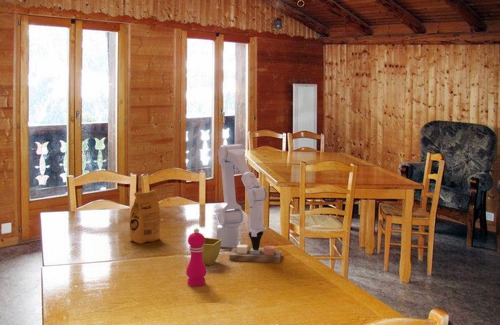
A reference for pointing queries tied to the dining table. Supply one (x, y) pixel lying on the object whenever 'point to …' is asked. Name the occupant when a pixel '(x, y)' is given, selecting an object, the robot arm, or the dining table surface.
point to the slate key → (255, 251)
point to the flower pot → (211, 250)
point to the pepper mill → (196, 260)
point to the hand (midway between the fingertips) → (255, 249)
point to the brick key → (269, 250)
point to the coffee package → (145, 218)
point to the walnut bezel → (255, 256)
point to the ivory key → (242, 249)
